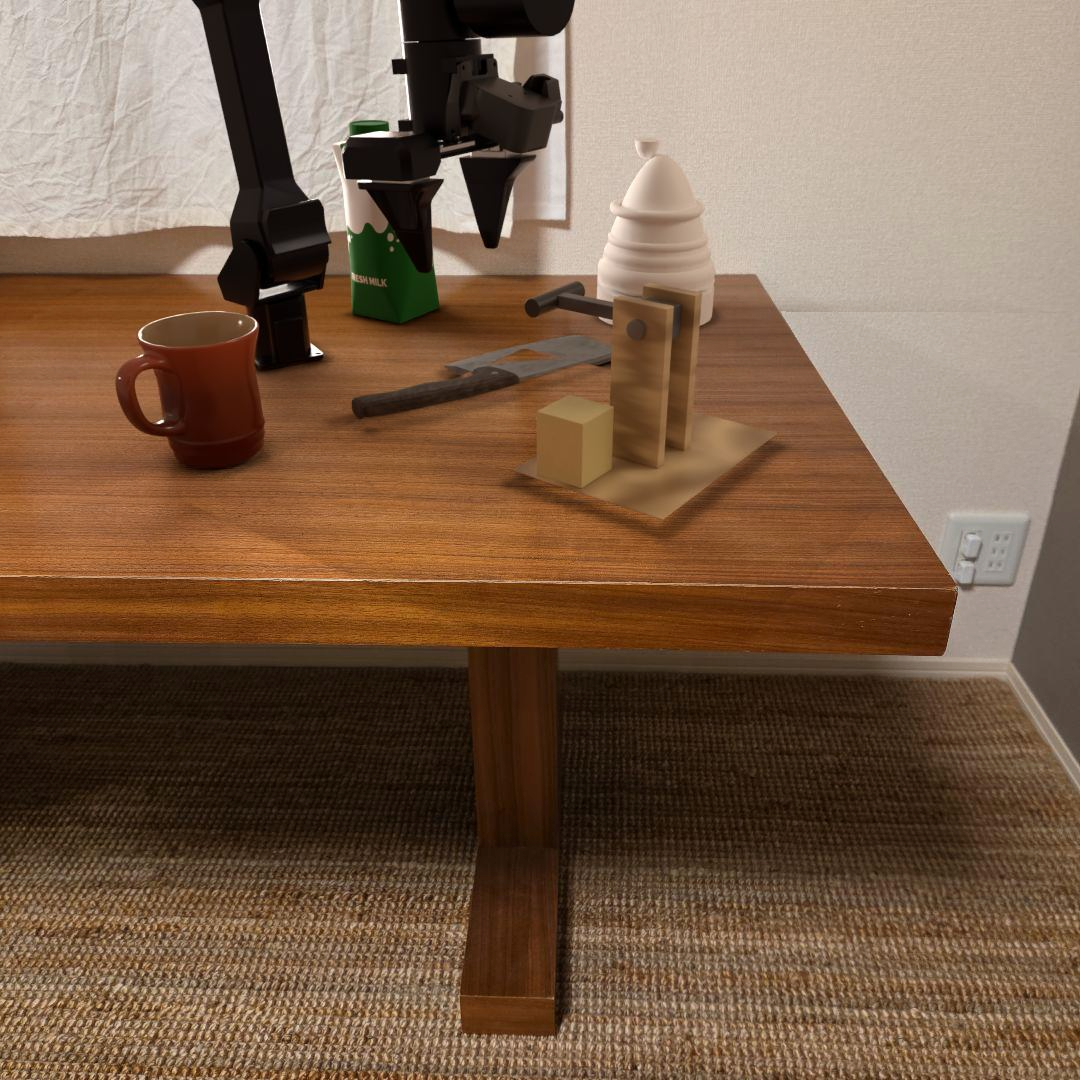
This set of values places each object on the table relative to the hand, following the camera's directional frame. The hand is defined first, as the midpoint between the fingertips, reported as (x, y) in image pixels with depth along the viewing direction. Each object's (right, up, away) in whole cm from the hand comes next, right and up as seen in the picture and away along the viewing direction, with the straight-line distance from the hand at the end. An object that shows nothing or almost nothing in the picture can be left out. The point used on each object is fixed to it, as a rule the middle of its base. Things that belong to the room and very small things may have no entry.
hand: (459, 259), depth 80 cm
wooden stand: (+15, -16, -2) cm, 22 cm away
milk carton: (-10, +3, +34) cm, 35 cm away
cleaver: (+2, -8, +14) cm, 16 cm away
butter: (+9, -17, -6) cm, 20 cm away
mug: (-20, -16, -1) cm, 26 cm away
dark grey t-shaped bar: (+11, -6, -5) cm, 14 cm away
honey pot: (+19, +3, +32) cm, 38 cm away
